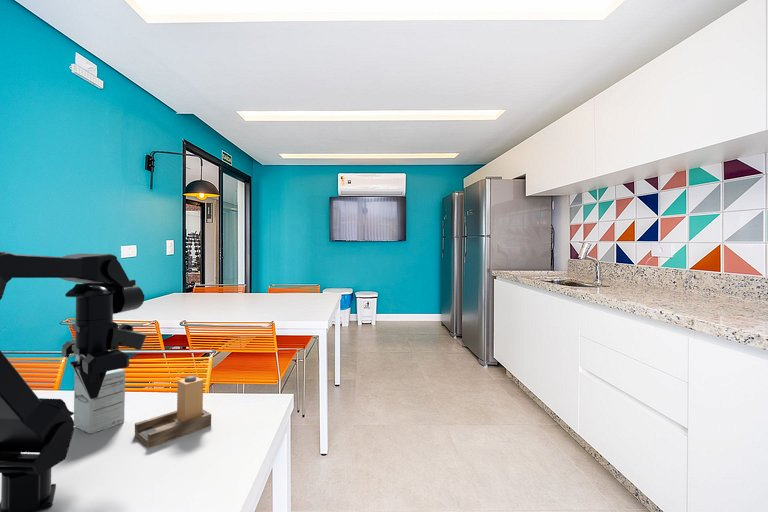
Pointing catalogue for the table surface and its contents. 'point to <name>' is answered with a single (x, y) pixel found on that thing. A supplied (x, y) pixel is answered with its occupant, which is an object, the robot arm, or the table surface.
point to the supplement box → (100, 403)
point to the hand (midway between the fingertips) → (93, 398)
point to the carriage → (189, 398)
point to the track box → (168, 428)
